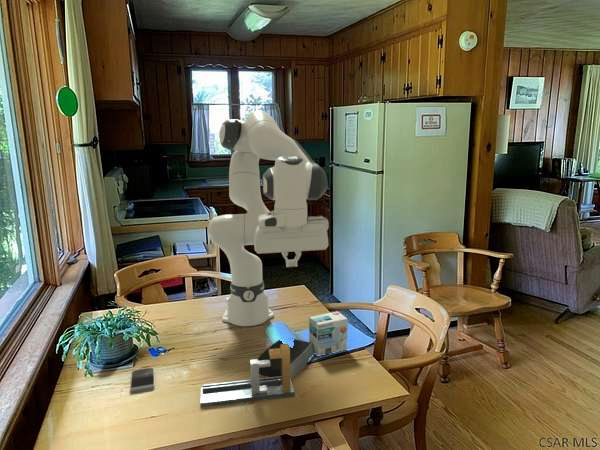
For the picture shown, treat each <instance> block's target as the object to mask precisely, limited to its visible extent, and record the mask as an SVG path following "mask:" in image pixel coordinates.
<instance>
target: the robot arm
mask: <svg viewBox="0 0 600 450" xmlns="http://www.w3.org/2000/svg"><path fill="white" fill-rule="evenodd" d="M218 133H219V134H218V137H219V141H220V145H221V146H222V148H224V149H226V150H229V151H234V152H232V154H231V157H230V162H229V168H228V169H229V172H228V181H229V182H228V185H229V187H228V191H229V192H228V194H229V195H228V196H229V199H230V201H232V203H233V204H235V205H237V207H241V208H243V209H244V210H246V213H239V214H238V213H236V214H235V213H234V214H232V213H229V214H222V215H218V216H214V217H212V219H211V220H210V221H209V224H208V227H207V235H208V237H209V240H210V241H211V242H212V243H213V244H214V245H216V246H217V247H219V248H220V249H221V250H222V252H224V254H225V255H226V257H227V259H228V263H229V266H230V267H229V268H230V277H231V278H230V279H231V282H230V287H229V288H230V294H229V296H228V297H225V298H226V299H225V303H226V305H227V306H226V309H225V311H224V314H223V316H222V322H224V323H225V322H226V323H229V324H232V325H233V326H238V327H239V326H240V327H252V326H258V325H261V324H263V323H265V322H266V321H268V320H269V319H272V318H274V317H275V314H274V312H273V311H272V310H271V309H270V304H269V303H270V302H269V295H267V293H266V292H265V283H264V280H263V263H262V260H261V258H260V257H259V256H257V255H256V254H259V255H260V254H275V253H276V254H277V253H281V255H282V257H283V258H284V260H285V267H286V268H296V267H298V261H299V260H300V258H301V256H302V252H309V251H325V250H327V248H328V247H329V236H328V230H329V228H330V227H329V224H330V223H329V220H328V218H326V217H324V216H323V215H317V216H315V215H314V216H313V215H312V216H308V203H307V201H311V200H312V201H318V200H319V199H320V198H322V196H324V194H325V193H326V191H327V190H328V185H329V184H328V177H327V174H326V172H325V170H324V169H323V168H322V167H321V166H320V165H319V164H318V163H316V162H315V161H314V160H313V159H312V158H311V156H310V155H309V154H308V153H307V151H306V150H305V149H304V148H303V146H302V144H300V143H299V142H298V141H297V140H295V139H294V138H293V137H290V136H289V135H287V134H286V133H284V132H283V131H282V130H281V129H280V127H279V125H278V124H277V122H276V120H275V119H274V118H273V117H272V115H271V114H269V113H268V112H267V111H265V110H261V109H258V110H254V111H251V113H249V114H248V116H247V117H246V119H245V120H243V119H242V120H240V119H237V118H236V119H235V118H234V119H232V118H231V119H227V120H225V121H224V122H223V123H222V124H221V127H220V129H219V132H218ZM260 159H263V160H266V161H275V162H274V166H272V167H269V168H267V170H266V171H265V172H264V173H263V174H262V175H261V177H262V179H261V180H262V193H261V180H260V165H259V164H260V163H259V162H260ZM262 195H264V196H265V197H267V198H268V200H271V201H275V202H274V205H273V206H274V210H271V211H270V210H269V209H268V208H267V206H266V205H265V203H264V201H263V199H262ZM245 246H253V247H254V248H253V249H254V252H256V254H254V253H251V252H249V250H247V249H245ZM291 252H292V253H293V252H294V253H295V257H294V258H292V259H289V258H288V255H289V253H291Z"/></svg>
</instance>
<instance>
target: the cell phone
mask: <svg viewBox="0 0 600 450" xmlns="http://www.w3.org/2000/svg"><path fill="white" fill-rule="evenodd" d="M130 373H131V374H130V376H131V377H130V388H129V389H130V393H131V394H133V395H136V394H141V393H146V392H152V391H154V389H155V387H156V386H155V381H156V380H155V368H154V367H149V368H141V369H136V370H133V371H132V372H130Z"/></svg>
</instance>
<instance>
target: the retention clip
mask: <svg viewBox="0 0 600 450" xmlns="http://www.w3.org/2000/svg"><path fill="white" fill-rule="evenodd" d="M249 366H250V367H249V368H250V371H249V372H250V380H251V392H252V395H256V394H265V393H267V387H266V385H265V386H259V379H260V375H259V368H260V367H269V366H270V360H261V361H258V358H255V359H250V360H249Z"/></svg>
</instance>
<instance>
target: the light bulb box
mask: <svg viewBox="0 0 600 450" xmlns="http://www.w3.org/2000/svg"><path fill="white" fill-rule="evenodd" d="M308 320H309V321H308V327H309V328H308V333H309V334H308V337H309V339H308V342H310V343H312V344H313V347H314V352H315V353H316V354H317V355H323V354H329V353H333V352H337V351H341V350H346V349H347V350H348V328H349V327H348V325H349V321H348V320H349V319H348V318H347V317H346V316H345V315H344V314H342V313H341V312H339V311H332V312H328V313H327V312H326V313H322V314H317V315H313V316H309V317H308ZM316 354H315V355H316ZM329 355H330V354H329Z"/></svg>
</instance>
